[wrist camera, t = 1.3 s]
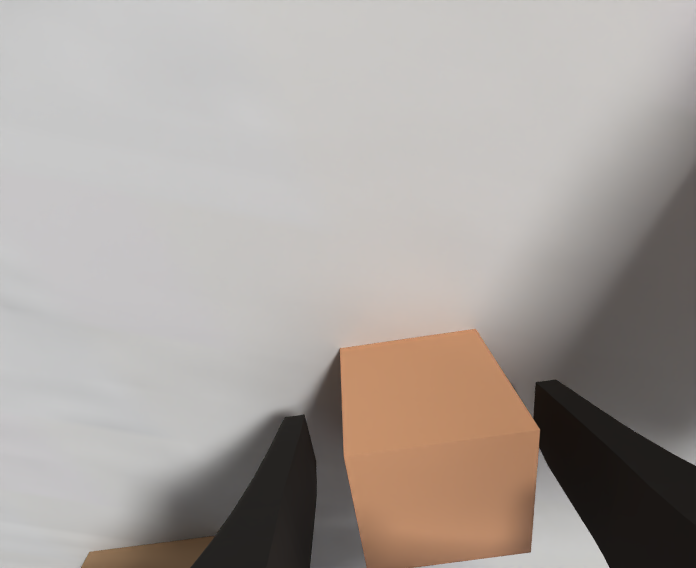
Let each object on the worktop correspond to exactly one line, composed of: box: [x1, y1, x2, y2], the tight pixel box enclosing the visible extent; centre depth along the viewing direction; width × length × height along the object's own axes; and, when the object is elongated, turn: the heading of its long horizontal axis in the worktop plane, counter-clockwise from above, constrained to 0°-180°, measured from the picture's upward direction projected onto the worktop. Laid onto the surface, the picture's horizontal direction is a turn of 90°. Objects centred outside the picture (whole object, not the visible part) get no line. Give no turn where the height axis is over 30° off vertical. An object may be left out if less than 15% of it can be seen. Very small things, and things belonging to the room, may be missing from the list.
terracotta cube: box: [340, 329, 540, 568], centre depth 12 cm, size 4×4×4 cm
